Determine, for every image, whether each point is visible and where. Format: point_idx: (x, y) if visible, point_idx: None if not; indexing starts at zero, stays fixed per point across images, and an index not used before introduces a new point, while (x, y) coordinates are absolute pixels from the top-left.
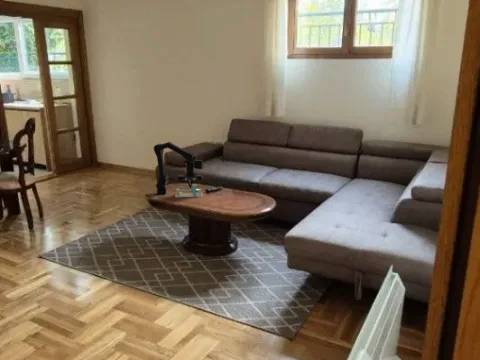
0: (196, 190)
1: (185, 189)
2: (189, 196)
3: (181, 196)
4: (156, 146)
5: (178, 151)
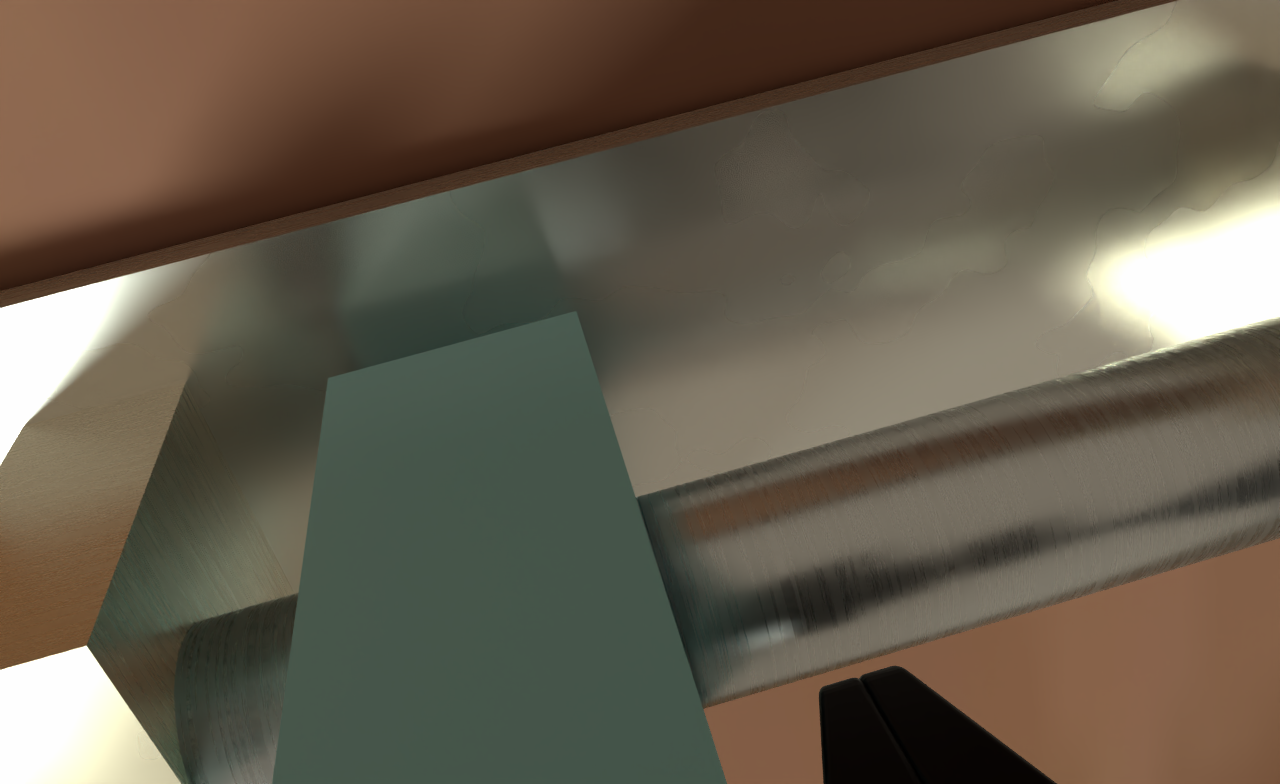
0: None
1: (1174, 511)
2: (710, 125)
3: (1186, 10)
4: None
5: None
